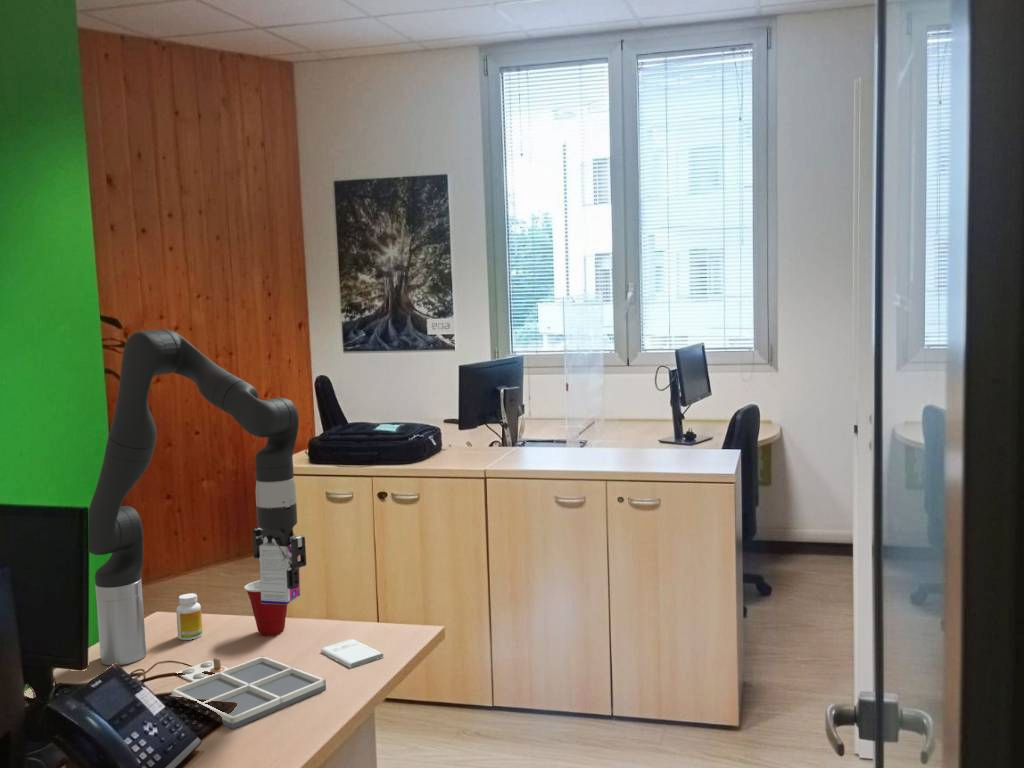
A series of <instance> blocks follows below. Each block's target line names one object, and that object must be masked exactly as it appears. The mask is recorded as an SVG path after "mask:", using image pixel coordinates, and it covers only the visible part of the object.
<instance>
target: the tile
mask: <svg viewBox="0 0 1024 768" xmlns="http://www.w3.org/2000/svg"><path fill="white" fill-rule="evenodd" d="M229 668H230V667H226V666H224V665H222V661H221V657H215V658H213V661H212V660H207V661H205V662H200V663H199V664H195V665H193V666H190V667H187V668H185V669H181V670H179V671H175V673H177V674H178V673H183V674H185V675H182V677H183V678H182V677H181V678H182V679H184V680H186V681H189V682H190V683H191V682H193V681H196V680H199V679H202V678H204V677H207V676H210V675H208V674H204V673H202V672H204V671H208V672H213V673H218V672H221V671H223V670H226V669H229Z"/></svg>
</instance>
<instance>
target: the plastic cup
mask: <svg viewBox="0 0 1024 768" xmlns="http://www.w3.org/2000/svg"><path fill="white" fill-rule="evenodd" d="M243 588H244V590H245V591H246V592H247V595H248V597H249V598H248V599H249V600H250V604H251V609H252V613H253V616H254V620H255V624H256V628H257V631H258V634H259V635H260V636H264V637H270V636H271V637H272V636H277V635H280V634H282V633H283V632H284V630H285V627H286V617H287V612H288V604H287V605H285V604H262V603H261V579H258V580H256V581H252V582H249V583H247V584H245V586H244V587H243ZM281 632H282V633H281Z"/></svg>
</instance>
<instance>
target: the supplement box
mask: <svg viewBox="0 0 1024 768" xmlns="http://www.w3.org/2000/svg"><path fill="white" fill-rule="evenodd" d="M280 548H281V549H282V551H283V552H284V553H285V555H287V554H288V553H291V547H290V545H288V546H280ZM259 551H260V562H259V567H260V568H259V569H260V570H259V571H260V572H259V573H260V580H261V603H262V604H285V605H287V606H288V605H289V604H290V603H291V602H292V601H294V600H296V599H297V598H298V597H300V596H301V591H300V590H301V586H300V585H301V584H300V583H301V581H300V580H301V579H300V578H301V577H300V576H299V586H298V588H295V589H288V588H287V568H286V565H285V561H284V560H283V561H282V560H281V559H280V554H279V547H278V546H273V544H272V543H267V544H266V543H264V544H262V545H260V546H259ZM298 559H299V560H300V555H299V556H298ZM289 560H290V562H291V563H292V559H291V558H289Z"/></svg>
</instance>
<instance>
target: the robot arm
mask: <svg viewBox="0 0 1024 768" xmlns="http://www.w3.org/2000/svg"><path fill="white" fill-rule="evenodd" d="M120 365H121V367H120V368H121V369H120V376H119V386H118V393H117V398H116V402H115V403H116V404H115V407H114V412H113V417H112V422H111V424H110V425H111V426H110V428H109V432H108V433H109V434H108V436H107V441H106V444H105V445H106V446H105V450H104V456H103V460H102V464H101V465H102V466H101V469H100V473H99V477H98V481H97V484H96V487H95V491H94V494H93V496H92V499H91V502H90V503H89V507H88V509H89V551H88V553H90V554H91V555H93V556H105V555H108V554H111V555H110V557H109V558H108V559H107V560H106V562H104V564H103V565H101V566H100V567H99V568H98V569H97V570H96V571H95V573H94V583H95V585H94V586H95V596H96V597H95V598H96V611H97V613H96V614H97V627H98V641H99V653H100V654H99V655H100V663H101V664H103V665H105V666H113V665H112V664H115V663H117V664H119V665H118V666H123V665H129V664H133V663H136V662H138V661H140V660H142V659H143V658H145V657H146V656H147V644H146V643H147V642H146V627H145V626H146V625H145V614H144V599H143V598H144V597H143V585H142V583H143V582H142V570H143V568H144V567H143V566H144V529H143V523H142V519H141V516H140V514H139V513H138V511H137V509H135V508H134V507H132V506H128V505H122V504H123V502H124V500H125V498H126V496H127V495H128V494H129V492H130V491H131V490H132V488H133V487H134V486H135V485H136V483H137V482H138V481H139V480H140V479H141V477H142V476H143V475H144V473H145V472H146V471H147V468H149V466H150V464H151V461H152V459H153V455H154V450H155V447H156V442H157V438H158V437H157V436H158V435H157V434H158V432H157V430H158V429H157V426H156V423H155V420H154V417H153V415H152V413H151V410H150V406H149V402H148V400H149V399H148V398H149V393H150V388H151V384H152V381H153V379H154V376H161V375H162V376H163V375H168V374H171V373H172V374H176V375H179V376H182V377H184V378H187V379H188V380H190V381H192V382H193V383H194V384H195V385H196V388H197V389H198V390H199V391H198V392H200V394H201V396H202V397H203V398H204V399H205V400H206V401H207V402H208V403H210V404H211V405H213V406H215V407H216V408H218V409H220V410H221V411H223V412H224V413H226V414H228V415H230V416H231V417H232V418H233V419H234V420H235V422H237V423H238V425H239V426H241V428H243V430H244V431H246V432H247V433H248V434H250V435H252V436H254V437H258V438H267V442H266V445H265V446H264V447H263V448H261V449H260V450H258V451H257V453H256V454H255V461H254V463H255V465H254V466H255V481H256V482H255V483H256V485H255V504H256V506H255V507H256V508H255V509H256V523H257V524H256V525H257V528H253V529H252V530H251V533H252V535H251V536H252V553H253V559H257V560H258V561H259V563H260V545H262V544H264V543H266V544H267V543H272V544H273V546H278V547H279V554H280V559H281V560H282V561H283V560H284V561H285V565H286V568H287V588H288V589H295V588H298V586H299V577H300V568H303V567H306V566H307V553H306V552H307V551H306V550H307V549H306V537H305V535H303V534H302V535H295V534H294V529H293V528H294V527H295V526H296V525H297V524H298V512H297V511H298V510H297V509H298V508H297V506H298V505H297V491H296V484H295V477H294V476H295V475H294V459H293V455H294V452H295V448H296V441H297V436H298V431H299V425H300V420H299V418H300V417H299V413H298V408H297V407H296V406H295V403H293V401H292V400H291V399H288V398H286V397H277V398H270V399H266V400H265V399H264V400H262V399H259V393H258V391H257V389H256V387H254V386H253V385H252V384H250V383H248V382H247V381H245V380H243V379H242V378H240V377H237V376H236V375H234V374H233V373H230V372H229V371H227V370H226V369H224V368H222V367H221V366H219V365H218V364H217V363H215V362H213V360H211V359H210V358H208V357H207V356H206V355H204V354H203V353H202V352H201V351H200V350H199V349H198V348H196V347H195V346H194V345H193V344H192V343H190V342H189V341H188V340H187V339H186V338H184V337H183V336H182V335H181V334H179V333H178V332H176V331H173V330H171V329H151V330H140V331H136V332H133V333H132V334H131V335H130V336H129V337H128V339H127V340H126V342H125V345H124V348H123V353H122V359H121V364H120ZM288 545H290V547H291V553H288V554H287V555H285V553H284V552H283V551H282V549H281V548H280V546H288ZM298 556H299V559H298ZM289 558H291V559H292V563H291V562H290V560H289Z"/></svg>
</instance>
